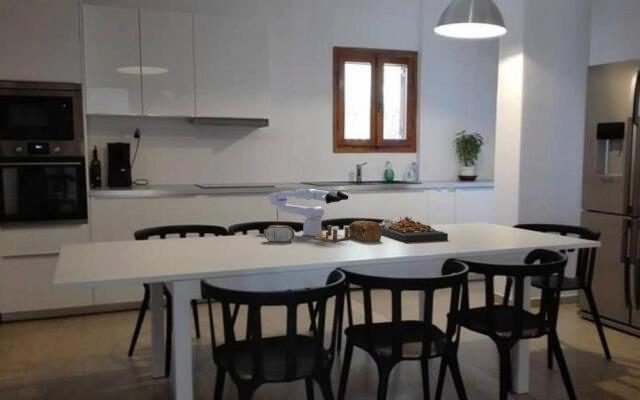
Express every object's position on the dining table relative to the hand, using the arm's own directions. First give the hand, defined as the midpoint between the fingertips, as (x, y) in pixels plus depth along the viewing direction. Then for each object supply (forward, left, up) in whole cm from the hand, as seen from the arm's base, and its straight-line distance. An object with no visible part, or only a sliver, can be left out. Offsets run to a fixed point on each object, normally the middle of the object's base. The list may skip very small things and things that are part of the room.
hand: (343, 198), depth 290 cm
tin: (-21, -28, -22) cm, 41 cm away
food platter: (+22, +31, -22) cm, 44 cm away
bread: (+10, +5, -22) cm, 25 cm away
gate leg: (-3, -15, -20) cm, 25 cm away
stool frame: (-4, -5, -21) cm, 22 cm away
